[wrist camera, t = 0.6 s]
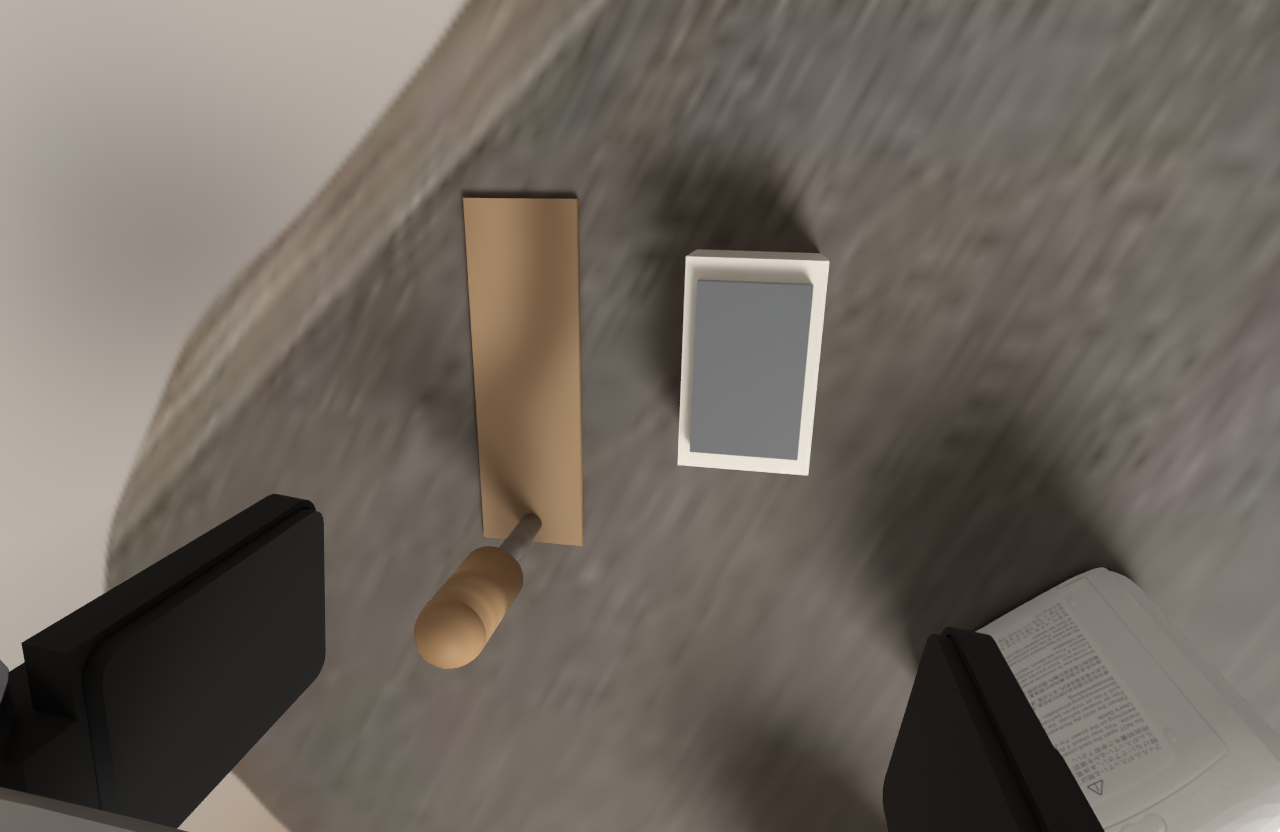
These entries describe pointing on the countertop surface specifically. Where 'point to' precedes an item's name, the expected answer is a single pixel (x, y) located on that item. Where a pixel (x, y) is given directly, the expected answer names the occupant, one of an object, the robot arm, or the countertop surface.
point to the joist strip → (527, 363)
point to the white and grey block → (750, 359)
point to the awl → (473, 600)
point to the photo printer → (1140, 711)
